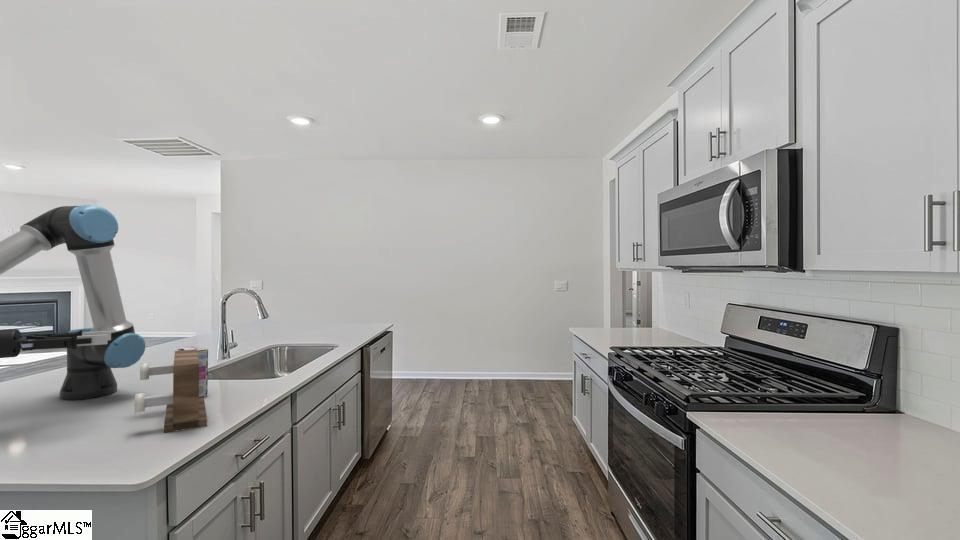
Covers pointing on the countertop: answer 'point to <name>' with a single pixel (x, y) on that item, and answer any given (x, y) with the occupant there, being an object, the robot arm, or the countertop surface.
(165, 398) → the lower plunger
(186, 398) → the slatted wooden stand
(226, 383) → the countertop surface
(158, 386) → the countertop surface
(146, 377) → the upper plunger
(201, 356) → the candy bar box
